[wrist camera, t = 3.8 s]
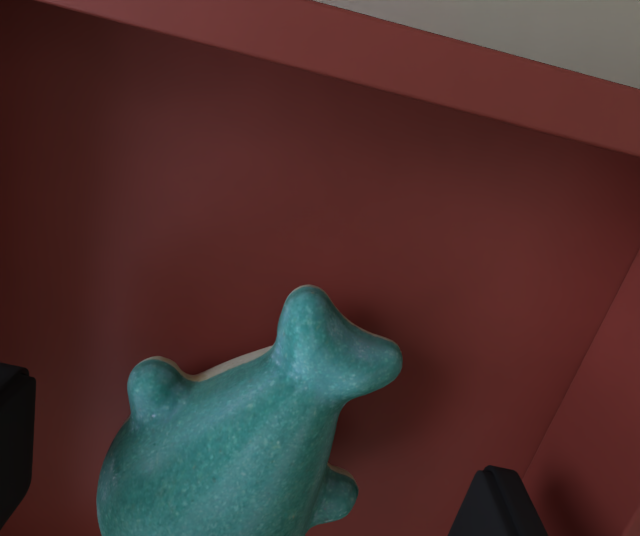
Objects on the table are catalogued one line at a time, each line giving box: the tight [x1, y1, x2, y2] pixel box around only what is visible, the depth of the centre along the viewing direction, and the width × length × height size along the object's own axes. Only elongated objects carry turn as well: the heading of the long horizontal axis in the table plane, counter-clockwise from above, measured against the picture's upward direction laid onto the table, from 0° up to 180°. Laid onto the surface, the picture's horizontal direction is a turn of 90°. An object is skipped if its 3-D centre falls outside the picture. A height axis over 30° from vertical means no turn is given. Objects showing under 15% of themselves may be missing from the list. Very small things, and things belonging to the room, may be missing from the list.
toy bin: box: [0, 0, 640, 536], centre depth 11 cm, size 17×16×4 cm
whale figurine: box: [96, 285, 403, 536], centre depth 10 cm, size 6×7×4 cm
